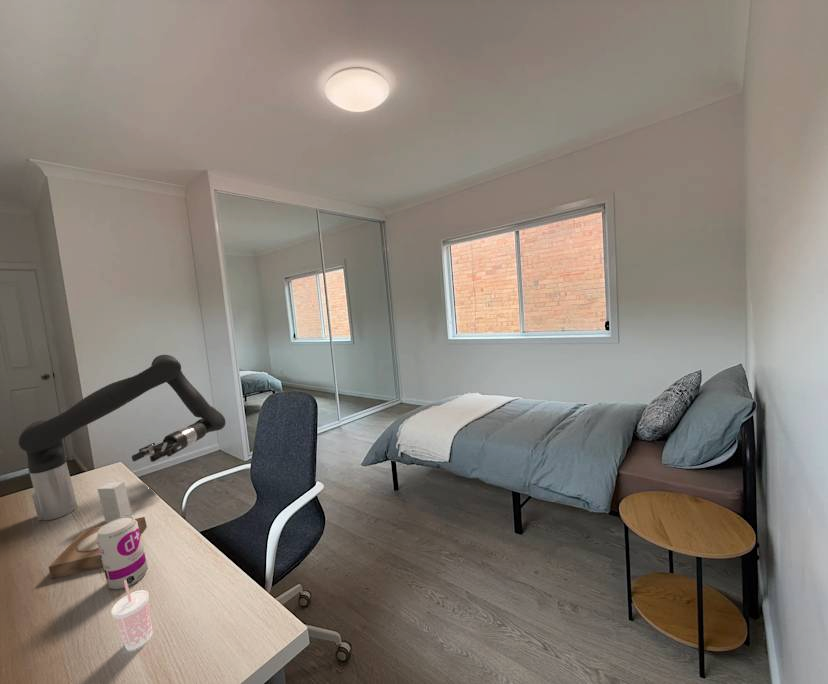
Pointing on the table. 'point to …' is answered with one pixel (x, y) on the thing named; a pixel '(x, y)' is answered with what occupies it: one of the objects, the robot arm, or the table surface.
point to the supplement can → (121, 552)
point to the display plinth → (83, 553)
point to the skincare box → (114, 501)
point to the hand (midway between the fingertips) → (141, 459)
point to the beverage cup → (133, 618)
